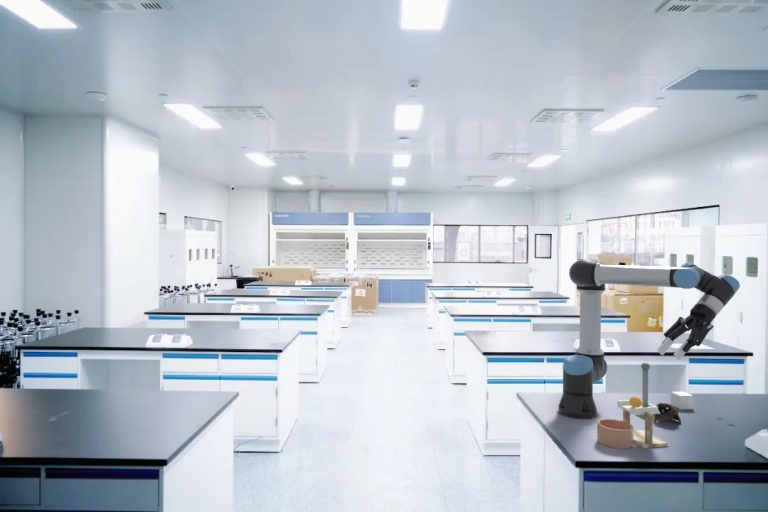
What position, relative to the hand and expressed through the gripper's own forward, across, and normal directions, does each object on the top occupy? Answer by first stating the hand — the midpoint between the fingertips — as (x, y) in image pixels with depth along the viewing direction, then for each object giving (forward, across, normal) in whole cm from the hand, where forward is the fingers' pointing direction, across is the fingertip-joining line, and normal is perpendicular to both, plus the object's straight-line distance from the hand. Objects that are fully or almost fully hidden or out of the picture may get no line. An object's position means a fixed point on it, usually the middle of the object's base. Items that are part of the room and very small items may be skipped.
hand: (668, 354), depth 174 cm
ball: (+21, 0, -2) cm, 21 cm away
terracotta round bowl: (+37, 0, -6) cm, 37 cm away
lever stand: (+29, 0, -14) cm, 32 cm away
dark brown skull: (+12, +16, -31) cm, 37 cm away
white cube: (-2, +30, -46) cm, 55 cm away
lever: (+25, 0, -7) cm, 26 cm away
